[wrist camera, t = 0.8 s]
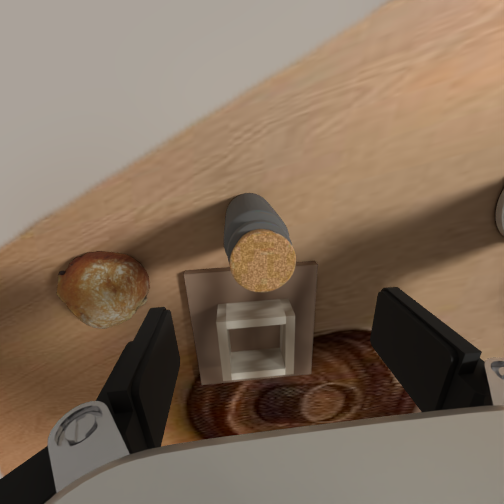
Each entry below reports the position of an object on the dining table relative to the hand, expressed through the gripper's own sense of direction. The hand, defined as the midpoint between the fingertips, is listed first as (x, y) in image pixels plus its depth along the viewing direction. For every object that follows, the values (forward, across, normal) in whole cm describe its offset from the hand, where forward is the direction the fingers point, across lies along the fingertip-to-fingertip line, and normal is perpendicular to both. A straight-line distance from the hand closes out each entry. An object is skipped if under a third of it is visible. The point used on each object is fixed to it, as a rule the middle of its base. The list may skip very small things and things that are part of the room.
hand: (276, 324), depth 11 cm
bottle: (+22, 0, 0) cm, 22 cm away
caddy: (+22, 0, +17) cm, 27 cm away
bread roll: (+22, +19, +8) cm, 30 cm away
